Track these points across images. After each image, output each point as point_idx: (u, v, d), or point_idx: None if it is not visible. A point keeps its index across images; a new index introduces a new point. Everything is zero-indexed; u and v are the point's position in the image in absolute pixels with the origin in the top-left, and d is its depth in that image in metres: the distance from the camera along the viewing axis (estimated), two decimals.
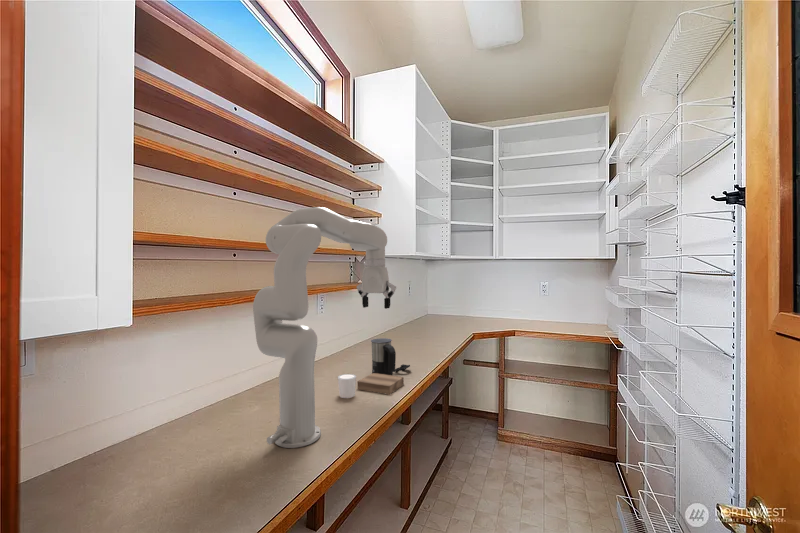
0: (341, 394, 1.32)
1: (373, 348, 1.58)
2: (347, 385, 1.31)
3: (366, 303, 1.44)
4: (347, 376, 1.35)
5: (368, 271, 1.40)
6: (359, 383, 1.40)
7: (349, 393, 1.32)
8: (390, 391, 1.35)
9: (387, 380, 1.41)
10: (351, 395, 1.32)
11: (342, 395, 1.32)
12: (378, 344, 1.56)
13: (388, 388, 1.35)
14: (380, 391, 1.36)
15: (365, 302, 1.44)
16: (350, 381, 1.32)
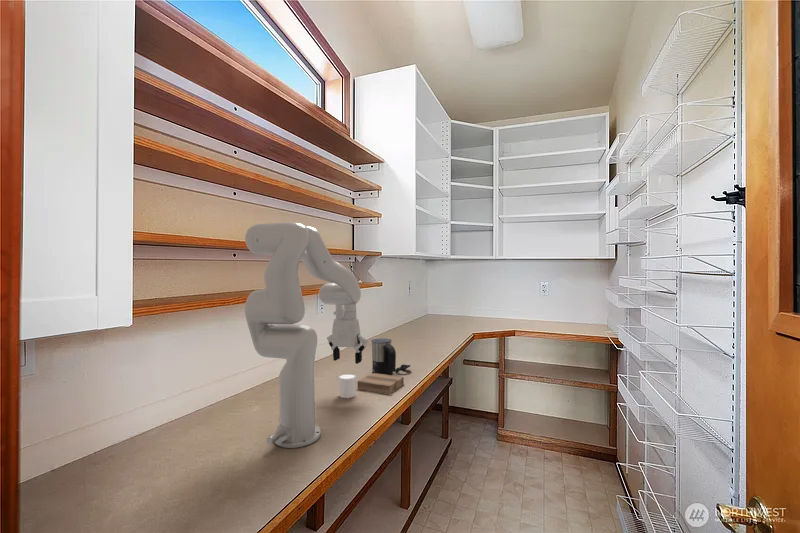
0: (341, 394, 1.32)
1: (373, 348, 1.58)
2: (347, 385, 1.31)
3: (337, 355, 1.37)
4: (347, 376, 1.35)
5: (338, 323, 1.33)
6: (359, 383, 1.40)
7: (349, 393, 1.32)
8: (390, 391, 1.35)
9: (387, 380, 1.41)
10: (351, 395, 1.32)
11: (342, 395, 1.32)
12: (378, 344, 1.56)
13: (388, 388, 1.35)
14: (380, 391, 1.36)
15: (336, 355, 1.36)
16: (350, 381, 1.32)
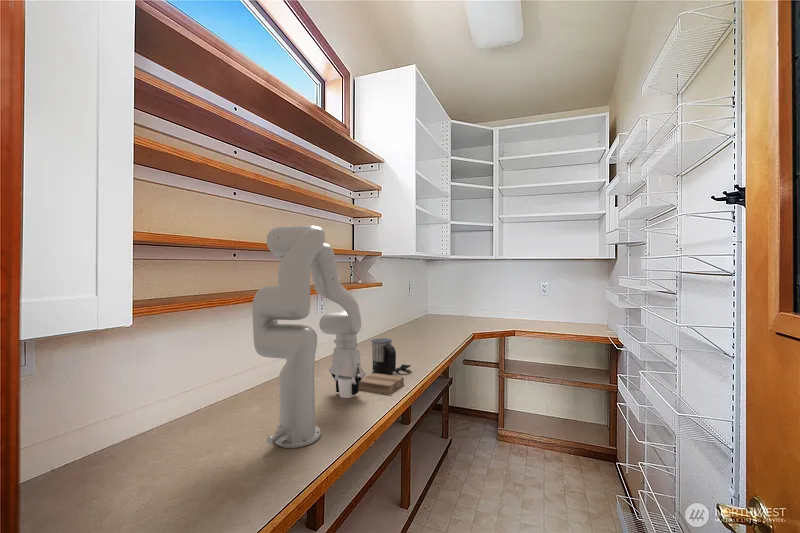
0: (341, 394, 1.32)
1: (373, 348, 1.58)
2: (347, 385, 1.31)
3: None
4: None
5: (338, 352, 1.33)
6: (359, 383, 1.40)
7: (349, 393, 1.32)
8: (390, 391, 1.35)
9: (387, 380, 1.41)
10: (351, 395, 1.32)
11: (342, 395, 1.32)
12: (378, 344, 1.56)
13: (388, 388, 1.35)
14: (380, 391, 1.36)
15: None
16: (350, 381, 1.32)
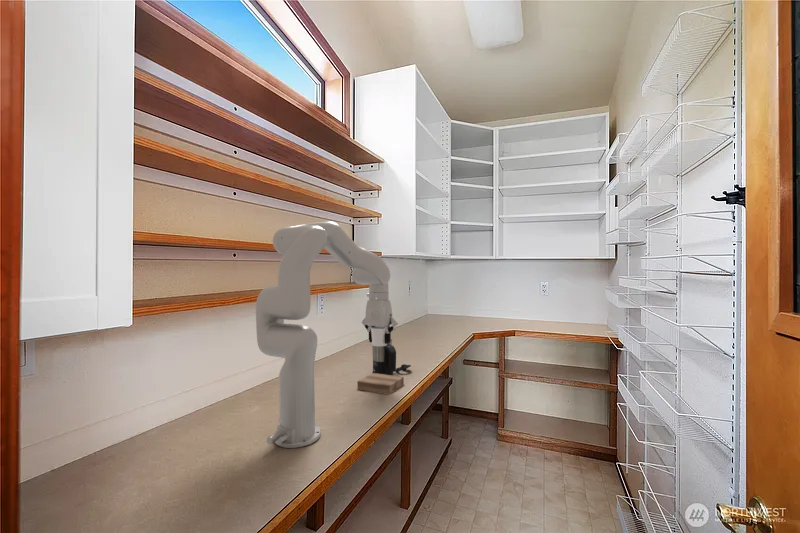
0: (374, 343, 1.40)
1: (374, 348, 1.58)
2: (380, 334, 1.40)
3: None
4: (379, 327, 1.43)
5: (371, 304, 1.41)
6: (359, 383, 1.40)
7: (382, 342, 1.40)
8: (390, 391, 1.35)
9: (387, 380, 1.41)
10: (384, 344, 1.41)
11: (375, 344, 1.40)
12: None
13: (388, 388, 1.35)
14: (380, 391, 1.36)
15: (371, 337, 1.43)
16: (383, 330, 1.40)
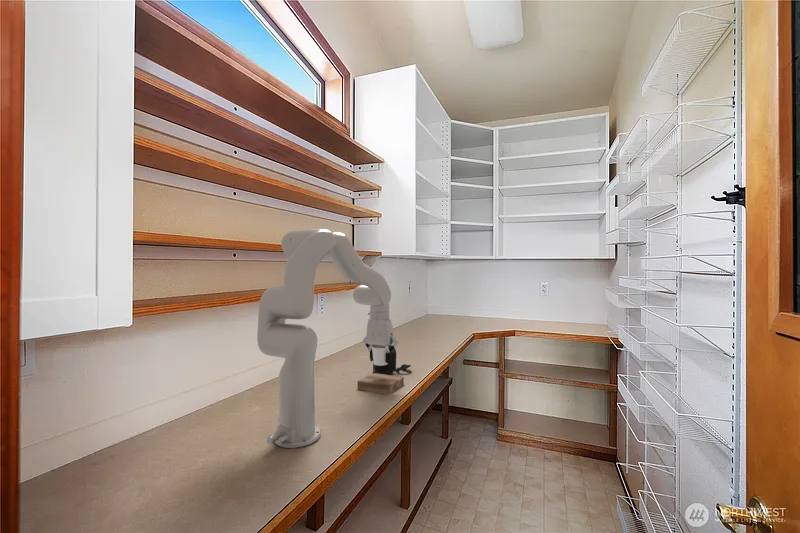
0: (375, 362, 1.41)
1: None
2: (381, 353, 1.40)
3: None
4: None
5: (372, 323, 1.41)
6: (359, 383, 1.40)
7: (383, 361, 1.40)
8: (390, 391, 1.35)
9: (387, 380, 1.41)
10: (385, 363, 1.41)
11: (376, 363, 1.40)
12: None
13: (388, 388, 1.35)
14: (380, 391, 1.36)
15: (372, 355, 1.44)
16: (384, 350, 1.40)
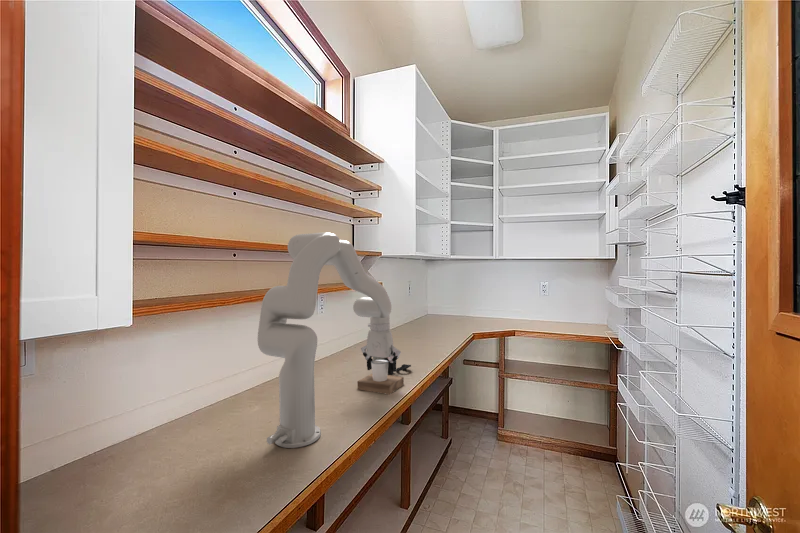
0: (375, 378, 1.41)
1: None
2: (381, 369, 1.40)
3: (370, 365, 1.45)
4: (380, 361, 1.43)
5: (372, 335, 1.41)
6: (359, 383, 1.40)
7: (382, 377, 1.40)
8: (390, 391, 1.35)
9: (387, 380, 1.41)
10: (384, 379, 1.41)
11: (376, 379, 1.40)
12: None
13: (388, 388, 1.35)
14: (380, 391, 1.36)
15: (369, 365, 1.44)
16: (383, 365, 1.40)
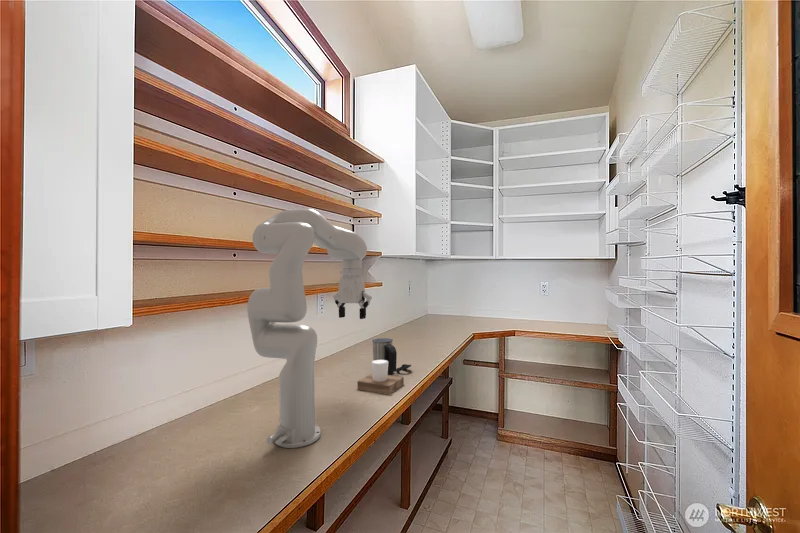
0: (375, 378, 1.41)
1: (374, 348, 1.58)
2: (381, 369, 1.40)
3: (342, 313, 1.43)
4: (380, 361, 1.43)
5: (344, 281, 1.39)
6: (359, 383, 1.40)
7: (382, 377, 1.40)
8: (390, 391, 1.35)
9: (387, 380, 1.41)
10: (384, 379, 1.41)
11: (376, 379, 1.40)
12: (379, 344, 1.57)
13: (388, 388, 1.35)
14: (380, 391, 1.36)
15: (341, 312, 1.42)
16: (383, 365, 1.40)
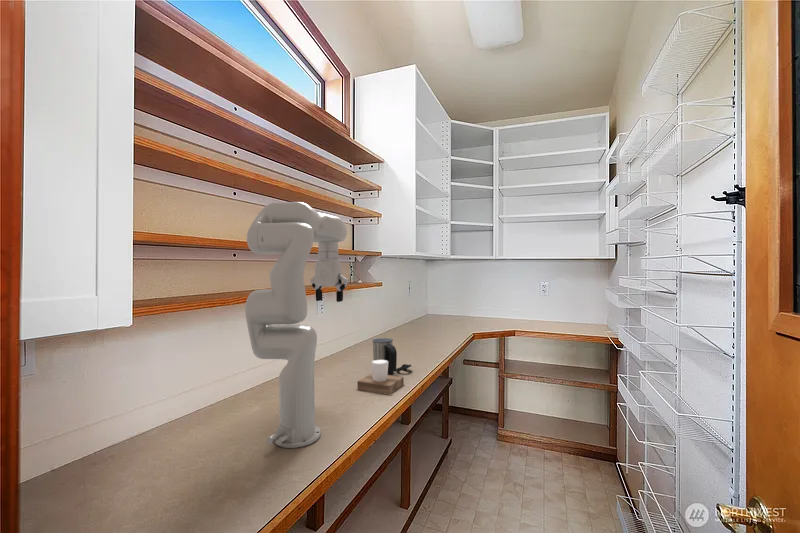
0: (375, 378, 1.41)
1: (374, 348, 1.58)
2: (381, 369, 1.40)
3: (320, 296, 1.42)
4: (380, 361, 1.43)
5: (320, 263, 1.38)
6: (359, 383, 1.40)
7: (382, 377, 1.40)
8: (390, 391, 1.35)
9: (387, 380, 1.41)
10: (384, 379, 1.41)
11: (376, 379, 1.40)
12: (379, 344, 1.57)
13: (388, 388, 1.35)
14: (380, 391, 1.36)
15: (318, 295, 1.41)
16: (383, 365, 1.40)
